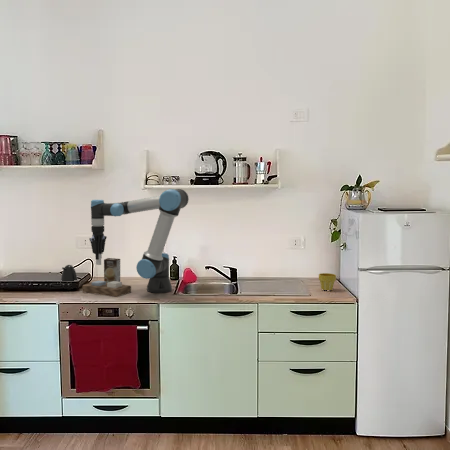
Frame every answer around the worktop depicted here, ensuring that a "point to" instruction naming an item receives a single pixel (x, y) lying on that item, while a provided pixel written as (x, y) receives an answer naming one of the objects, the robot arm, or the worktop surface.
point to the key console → (106, 290)
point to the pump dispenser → (68, 273)
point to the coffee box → (111, 270)
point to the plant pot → (327, 281)
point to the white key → (114, 284)
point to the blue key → (98, 283)
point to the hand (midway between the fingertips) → (98, 264)
